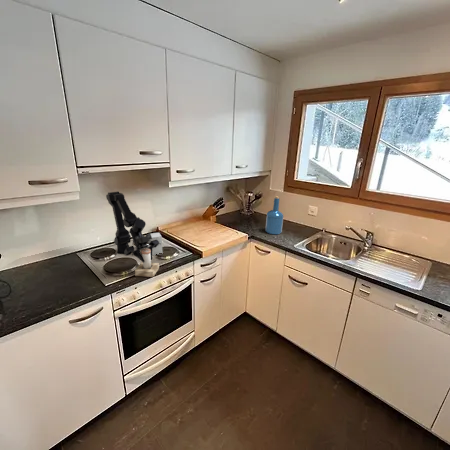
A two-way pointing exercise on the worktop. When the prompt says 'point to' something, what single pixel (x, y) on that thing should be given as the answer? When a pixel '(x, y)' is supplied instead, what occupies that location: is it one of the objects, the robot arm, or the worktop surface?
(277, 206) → the wine bottle
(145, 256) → the white pink cylinder
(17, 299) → the worktop surface
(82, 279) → the worktop surface
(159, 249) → the supplement box
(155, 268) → the beige square frame
